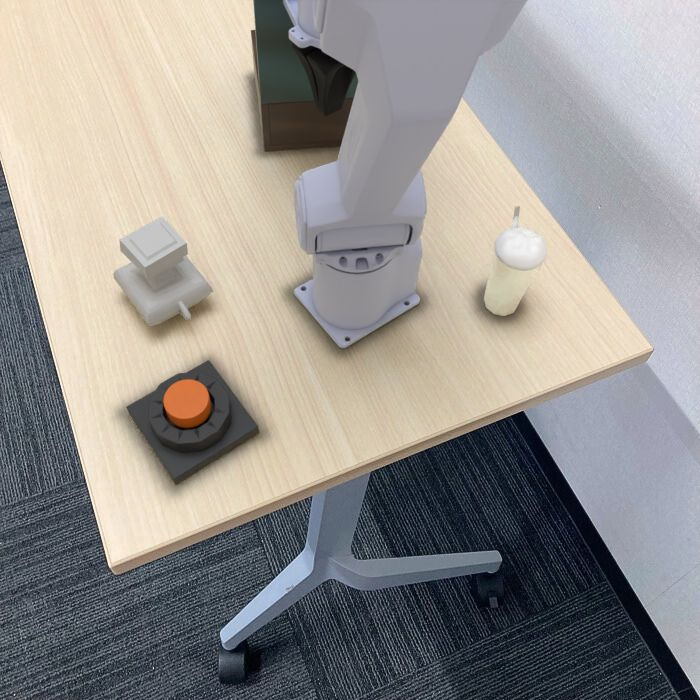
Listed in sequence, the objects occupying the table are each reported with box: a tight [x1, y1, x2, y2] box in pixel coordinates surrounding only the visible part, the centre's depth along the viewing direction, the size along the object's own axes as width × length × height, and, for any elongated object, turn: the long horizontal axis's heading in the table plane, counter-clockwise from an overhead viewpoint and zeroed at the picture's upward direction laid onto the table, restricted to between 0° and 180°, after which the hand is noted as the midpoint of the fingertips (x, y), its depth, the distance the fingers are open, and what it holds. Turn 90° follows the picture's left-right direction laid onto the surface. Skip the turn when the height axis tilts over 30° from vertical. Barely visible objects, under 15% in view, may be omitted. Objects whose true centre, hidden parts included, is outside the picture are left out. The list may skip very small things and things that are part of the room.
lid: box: [252, 0, 358, 104], centre depth 67 cm, size 13×13×1 cm
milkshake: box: [483, 205, 548, 317], centre depth 65 cm, size 4×5×10 cm
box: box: [250, 29, 354, 152], centre depth 80 cm, size 13×13×6 cm
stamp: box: [112, 215, 214, 327], centre depth 64 cm, size 9×7×8 cm
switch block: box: [126, 360, 260, 485], centre depth 59 cm, size 8×8×3 cm
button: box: [163, 379, 212, 428], centre depth 58 cm, size 4×4×2 cm
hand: (329, 108), depth 68 cm, fingers closed
